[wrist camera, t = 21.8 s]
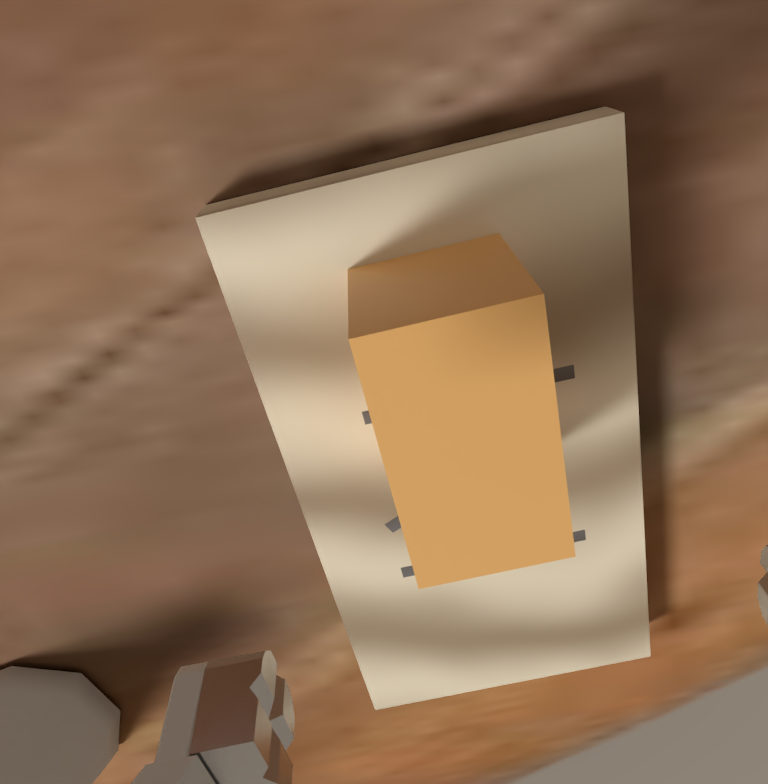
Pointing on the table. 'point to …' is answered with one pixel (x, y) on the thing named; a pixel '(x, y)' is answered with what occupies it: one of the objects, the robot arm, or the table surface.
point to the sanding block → (463, 407)
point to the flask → (54, 727)
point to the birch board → (354, 426)
